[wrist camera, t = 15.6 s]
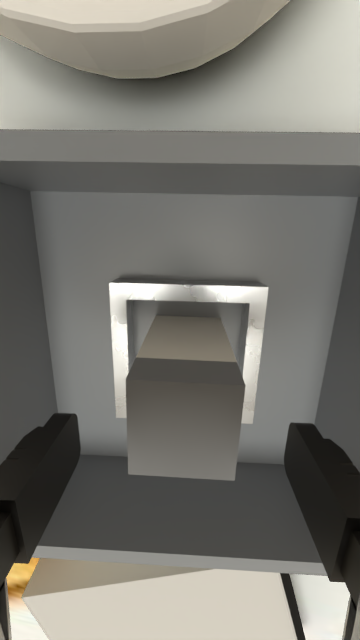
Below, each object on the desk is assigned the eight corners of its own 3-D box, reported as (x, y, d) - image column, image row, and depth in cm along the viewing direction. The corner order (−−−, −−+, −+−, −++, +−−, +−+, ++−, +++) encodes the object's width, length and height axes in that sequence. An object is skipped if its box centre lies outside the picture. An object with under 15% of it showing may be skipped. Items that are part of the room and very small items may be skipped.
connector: (155, 315, 19) (125, 379, 10) (220, 318, 19) (245, 385, 10) (155, 373, 20) (128, 474, 12) (216, 376, 20) (234, 480, 11)
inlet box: (21, 176, 18) (-110, 128, 10) (368, 181, 17) (516, 134, 9) (58, 453, 24) (-5, 555, 16) (311, 466, 23) (370, 578, 15)
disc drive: (299, 618, 30) (319, 691, 25) (107, 642, 32) (93, 712, 28) (268, 498, 25) (287, 559, 20) (48, 537, 28) (18, 599, 23)
